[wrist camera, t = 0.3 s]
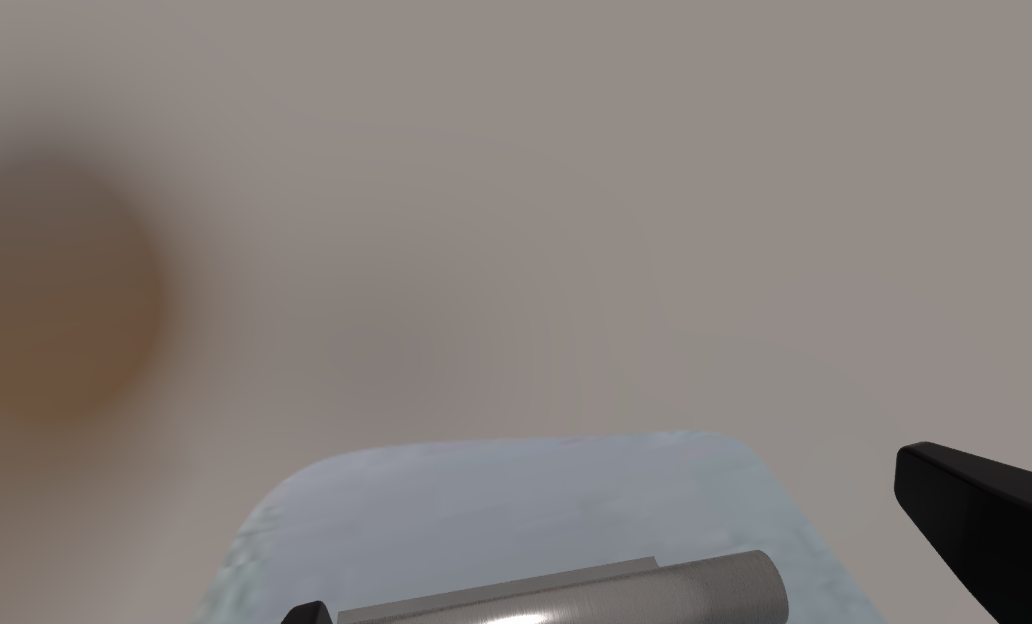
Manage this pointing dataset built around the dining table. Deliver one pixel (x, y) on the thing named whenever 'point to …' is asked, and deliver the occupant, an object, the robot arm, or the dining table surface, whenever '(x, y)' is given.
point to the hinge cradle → (608, 597)
